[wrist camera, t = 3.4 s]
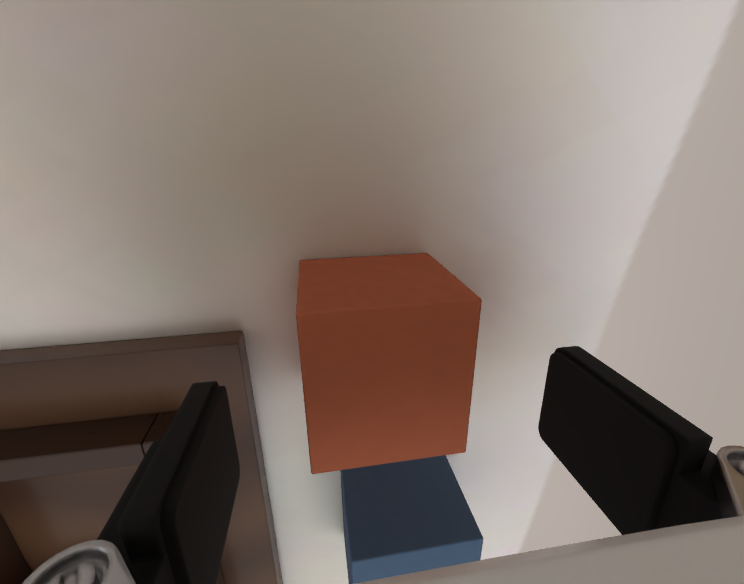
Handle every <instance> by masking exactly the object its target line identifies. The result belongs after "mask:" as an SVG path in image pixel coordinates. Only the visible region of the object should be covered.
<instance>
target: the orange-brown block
mask: <svg viewBox="0 0 744 584" xmlns="http://www.w3.org/2000/svg"><path fill="white" fill-rule="evenodd" d="M481 301H482V300H481V298H479V297H478V296H477V295H476V294H475V293H474V292H472V291H471V290H470V289H469V288H468V287H467V286H465V285H464V284H463V283H462V282H461V281H460V280H458V279H457V278H456V277H455V276H454V275H452V274H451V273H450V272H449V271H448V270H447V269H445V268H444V267H443V266H442V265H441V264H440V263H438V262H437V261H436V260H435V259H434V258H433V257H431V256H430V255H429V254H428V253H420V254H402V255H385V256H367V257H349V258H332V259H314V260H300V262H299V277H298V293H297V309H296V318H297V329H298V339H299V350H300V360H301V371H302V381H303V392H304V402H305V413H306V423H307V434H308V444H309V455H310V465H311V473H312V474H316V473H323V472H330V471H337V470H344V469H351V468H358V467H365V466H372V465H379V464H386V463H393V462H400V461H407V460H414V459H421V458H428V457H435V456H442V455H449V454H456V453H463V452H465V451H466V443H467V433H468V424H469V415H470V405H471V396H472V386H473V377H474V367H475V358H476V348H477V339H478V329H479V320H480V311H481Z"/></svg>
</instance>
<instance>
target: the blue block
mask: <svg viewBox="0 0 744 584" xmlns="http://www.w3.org/2000/svg"><path fill="white" fill-rule="evenodd" d="M341 488H342V505H343V523H344V538H345V549H346V559H347V569H348V579H349V584H355V583H361V582H366V581H371V580H377V579H382V578H387V577H393V576H398V575H403V574H409V573H414V572H419V571H425V570H430V569H436V568H441V567H446V566H452V565H457V564H463V563H468V562H474V561H479V560H480V558H481V551H482V544H483V537H482V535H481V532H480V530H479V528H478V526H477V524H476V521H475V519H474V517H473V515H472V513H471V510H470V508H469V506H468V504H467V502H466V499H465V497H464V495H463V493H462V491H461V488H460V486H459V484H458V482H457V480H456V477H455V475H454V473H453V471H452V469H451V466H450V464H449V462H448V460H447V458H446V455H442V456H435V457H428V458H421V459H414V460H407V461H400V462H393V463H386V464H379V465H372V466H365V467H358V468H351V469H344V470H341Z"/></svg>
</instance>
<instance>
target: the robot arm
mask: <svg viewBox="0 0 744 584" xmlns="http://www.w3.org/2000/svg"><path fill="white" fill-rule="evenodd" d="M538 429H539V434H540V436H541V438H542V440H543V441H544V442H545V443H546V445H547V446H548V447H549V448H550V449H551V450H552V452H553V453H554V454H555V455H556V456H557V458H558V459H559V460H560V461H561V462H562V464H563V465H564V466H565V467H566V468H567V470H568V471H569V472H570V473H571V474H572V476H573V477H574V478H575V479H576V480H577V482H578V483H579V484H580V485H581V486H582V487H583V489H584V490H585V491H586V492H587V493H588V495H589V496H590V497H591V498H592V499H593V500H594V502H595V503H596V504H597V505H598V507H599V508H600V509H601V510H602V511H603V512H604V514H605V515H606V516H607V517H608V519H609V520H610V521H611V522H612V523H613V524H614V526H615V527H616V528H617V529H618V530H619V532H621V534H622V535H620V536H614V537H609V538H603V539H597V540H591V541H585V542H580V543H574V544H569V545H563V546H558V547H552V548H546V549H540V550H535V551H529V552H524V553H518V554H513V555H507V556H501V557H496V558H490V559H485V560H479V561H474V562H468V563H463V564H457V565H452V566H446V567H441V568H436V569H430V570H425V571H419V572H414V573H409V574H403V575H398V576H393V577H387V578H382V579H377V580H371V581H366V582H361V583H355V584H744V447H742V446H725V447H722V448H721V449H720V450H719V451H718V452H717V455H715V454H714V453H712V452H711V451H710V450H709V447H710V444H711V442H712V439H713V438H712V437H711V436H709V435H708V434H707V433H705V432H704V431H702V430H701V429H699V428H698V427H696V426H695V425H693V424H692V423H691V422H689V421H688V420H686V419H685V418H683V417H682V416H680V415H679V414H677V413H676V412H674V411H673V410H671V409H670V408H668V407H667V406H666V405H664V404H663V403H661V402H660V401H658V400H657V399H655V398H654V397H652V396H651V395H649V394H648V393H646V392H645V391H644V390H642V389H641V388H639V387H638V386H636V385H635V384H633V383H632V382H630V381H629V380H627V379H626V378H624V377H623V376H622V375H620V374H619V373H617V372H616V371H614V370H613V369H611V368H610V367H608V366H607V365H605V364H604V363H603V362H601V361H600V360H598V359H597V358H595V357H594V356H592V355H591V354H589V353H588V352H586V351H585V350H584V349H582V348H580V347H578V346H572V347H562V348H557V349H556V350H555V352H554V353H553V354H552V355H551V356H550V360H549V366H548V372H547V378H546V384H545V390H544V396H543V402H542V408H541V414H540V420H539V428H538ZM239 479H240V463H239V458H238V452H237V446H236V441H235V435H234V429H233V423H232V418H231V412H230V406H229V400H228V395H227V390H226V387H225V386H219V384H218V382H217V381H210V382H200V383H193V384H192V385H191V387H190V389H189V391H188V393H187V395H186V396H185V398H184V400H183V402H182V404H181V406H180V408H179V409H178V411H177V413H176V415H175V417H174V419H173V420H172V422H171V424H170V426H169V428H168V430H167V432H166V433H165V435H164V437H163V439H157V440H155V441H154V442H153V443H152V444H151V446H150V447H149V449H148V451H147V453H146V454H145V456H144V458H143V460H142V461H141V463H140V465H139V467H138V468H137V470H136V472H135V474H134V475H133V477H132V479H131V481H130V482H129V484H128V486H127V488H126V489H125V491H124V493H123V495H122V496H121V498H120V500H119V502H118V503H117V505H116V507H115V509H114V510H113V512H112V514H111V516H110V517H109V519H108V521H107V523H106V524H105V526H104V528H103V530H102V531H101V533H100V535H99V537H98V539H97V540H91V541H86V542H83V543H79V544H76V545H73V546H71V547H69V548H67V549H65V550H63V551H61V552H59V553H58V554H56V555H54V556H53V557H52V558H50V559H49V560H47V561H46V562H45V563H43V564H42V565H40V566H39V567H38V568H37V569H36V570H35V571H34V572H33V573H32V574H31V575H30V576H29V577H28V578H27V579H26V580H25V581H24V582H23V583H22V584H216V581H217V576H218V572H219V568H220V563H221V559H222V554H223V550H224V546H225V541H226V537H227V532H228V528H229V524H230V519H231V515H232V510H233V506H234V501H235V497H236V493H237V488H238V484H239Z"/></svg>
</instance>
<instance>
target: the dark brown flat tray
mask: <svg viewBox="0 0 744 584" xmlns="http://www.w3.org/2000/svg"><path fill="white" fill-rule="evenodd" d="M210 381H217V382H218V384H219V386H225V387H226V390H227V395H228V400H229V406H230V412H231V418H232V423H233V429H234V435H235V441H236V446H237V452H238V458H239V463H240V479H239V484H238V488H237V493H236V497H235V501H234V506H233V510H232V515H231V519H230V524H229V528H228V532H227V537H226V541H225V546H224V550H223V554H222V559H221V563H220V568H219V572H218V576H217V581H216V584H282V577H281V571H280V565H279V558H278V552H277V546H276V539H275V533H274V526H273V520H272V514H271V507H270V501H269V494H268V488H267V482H266V475H265V469H264V462H263V456H262V450H261V443H260V437H259V430H258V424H257V418H256V411H255V405H254V398H253V392H252V386H251V379H250V373H249V367H248V360H247V354H246V347H245V341H244V335H243V331H235V332H223V333H211V334H199V335H187V336H175V337H163V338H151V339H139V340H126V341H114V342H102V343H90V344H78V345H66V346H54V347H42V348H30V349H18V350H6V351H0V584H22V583H23V582H24V581H25V580H26V579H27V578H28V577H29V576H30V575H31V574H32V573H33V572H34V571H35V570H36V569H37V568H38V567H39V566H40V565H42V564H43V563H45V562H46V561H47V560H49V559H50V558H52V557H53V556H54V555H56V554H58V553H59V552H61V551H63V550H65V549H67V548H69V547H71V546H73V545H76V544H79V543H83V542H86V541H91V540H97V539H98V537H99V535H100V533H101V531H102V530H103V528H104V526H105V524H106V523H107V521H108V519H109V517H110V516H111V514H112V512H113V510H114V509H115V507H116V505H117V503H118V502H119V500H120V498H121V496H122V495H123V493H124V491H125V489H126V488H127V486H128V484H129V482H130V481H131V479H132V477H133V475H134V474H135V472H136V470H137V468H138V467H139V465H140V463H141V461H142V460H143V458H144V456H145V454H146V453H147V451H148V449H149V447H150V446H151V444H152V443H153V442H154V441H155V440H157V439H163V437H164V435H165V433H166V432H167V430H168V428H169V426H170V424H171V422H172V420H173V419H174V417H175V415H176V413H177V411H178V409H179V408H180V406H181V404H182V402H183V400H184V398H185V396H186V395H187V393H188V391H189V389H190V387H191V385H192V384H193V383H200V382H210Z"/></svg>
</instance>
